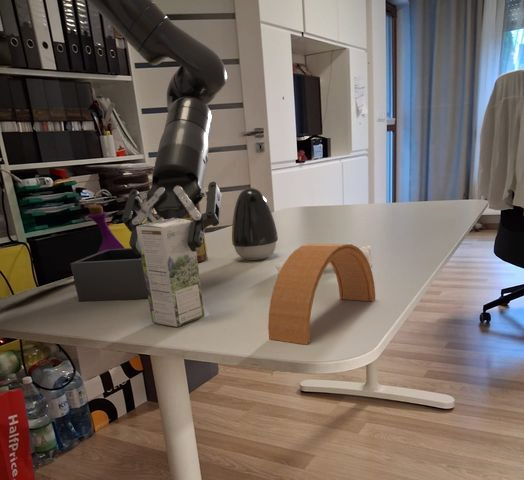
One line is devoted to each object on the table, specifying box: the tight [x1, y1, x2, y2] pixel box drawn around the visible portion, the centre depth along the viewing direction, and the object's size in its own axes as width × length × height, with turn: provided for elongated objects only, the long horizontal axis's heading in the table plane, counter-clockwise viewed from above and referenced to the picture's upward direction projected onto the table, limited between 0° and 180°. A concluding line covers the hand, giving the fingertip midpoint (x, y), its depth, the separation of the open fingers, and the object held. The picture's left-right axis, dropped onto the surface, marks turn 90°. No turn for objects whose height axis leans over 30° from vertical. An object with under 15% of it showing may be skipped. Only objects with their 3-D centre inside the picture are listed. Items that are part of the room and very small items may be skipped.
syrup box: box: [136, 218, 205, 328], centre depth 75 cm, size 6×6×14 cm
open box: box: [69, 247, 149, 302], centre depth 98 cm, size 14×13×7 cm
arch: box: [267, 243, 376, 345], centre depth 70 cm, size 6×20×10 cm, turn 144°
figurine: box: [275, 243, 373, 273], centre depth 98 cm, size 17×5×18 cm
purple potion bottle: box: [87, 189, 125, 253], centre depth 115 cm, size 8×8×18 cm
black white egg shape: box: [231, 187, 279, 261], centre depth 115 cm, size 10×10×15 cm
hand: (164, 250), depth 73 cm, fingers open, 8 cm apart
